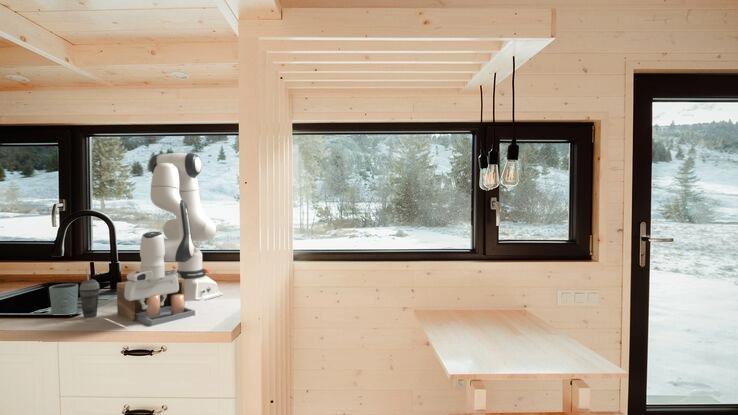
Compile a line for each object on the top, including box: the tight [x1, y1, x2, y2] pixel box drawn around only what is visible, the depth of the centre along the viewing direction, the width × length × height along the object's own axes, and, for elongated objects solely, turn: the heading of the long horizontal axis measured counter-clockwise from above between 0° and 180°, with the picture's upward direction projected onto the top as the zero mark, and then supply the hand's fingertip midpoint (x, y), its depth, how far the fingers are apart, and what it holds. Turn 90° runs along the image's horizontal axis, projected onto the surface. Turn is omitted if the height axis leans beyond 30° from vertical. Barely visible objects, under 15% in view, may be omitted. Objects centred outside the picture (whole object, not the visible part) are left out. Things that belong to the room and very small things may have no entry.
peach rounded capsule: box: [145, 295, 161, 316], centre depth 170 cm, size 5×5×8 cm
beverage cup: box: [78, 268, 101, 319], centre depth 176 cm, size 7×7×20 cm
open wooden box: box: [116, 277, 186, 322], centre depth 181 cm, size 22×13×14 cm, turn 143°
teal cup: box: [48, 283, 79, 315], centre depth 180 cm, size 10×10×12 cm
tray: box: [135, 305, 196, 327], centre depth 175 cm, size 18×15×3 cm
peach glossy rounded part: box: [171, 294, 185, 315], centre depth 178 cm, size 5×5×8 cm
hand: (153, 307), depth 170 cm, fingers closed on peach rounded capsule, 5 cm apart
